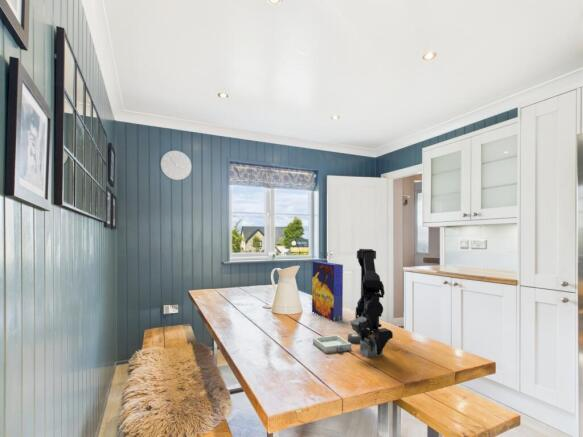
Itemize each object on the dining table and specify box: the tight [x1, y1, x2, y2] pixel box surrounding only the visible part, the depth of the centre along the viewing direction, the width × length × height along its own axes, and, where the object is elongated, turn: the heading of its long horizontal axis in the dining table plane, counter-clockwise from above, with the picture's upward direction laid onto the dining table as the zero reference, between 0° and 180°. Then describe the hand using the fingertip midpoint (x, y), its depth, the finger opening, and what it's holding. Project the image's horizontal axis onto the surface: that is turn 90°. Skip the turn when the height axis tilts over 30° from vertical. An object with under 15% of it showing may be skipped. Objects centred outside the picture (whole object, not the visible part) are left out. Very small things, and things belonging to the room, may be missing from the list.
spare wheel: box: [347, 333, 361, 345], centre depth 141 cm, size 6×6×3 cm
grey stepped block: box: [359, 336, 384, 358], centre depth 126 cm, size 7×5×6 cm
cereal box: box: [311, 260, 344, 322], centre depth 184 cm, size 22×6×30 cm, turn 28°
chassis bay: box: [312, 334, 352, 354], centre depth 133 cm, size 12×15×2 cm
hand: (371, 350), depth 126 cm, fingers open, 9 cm apart
